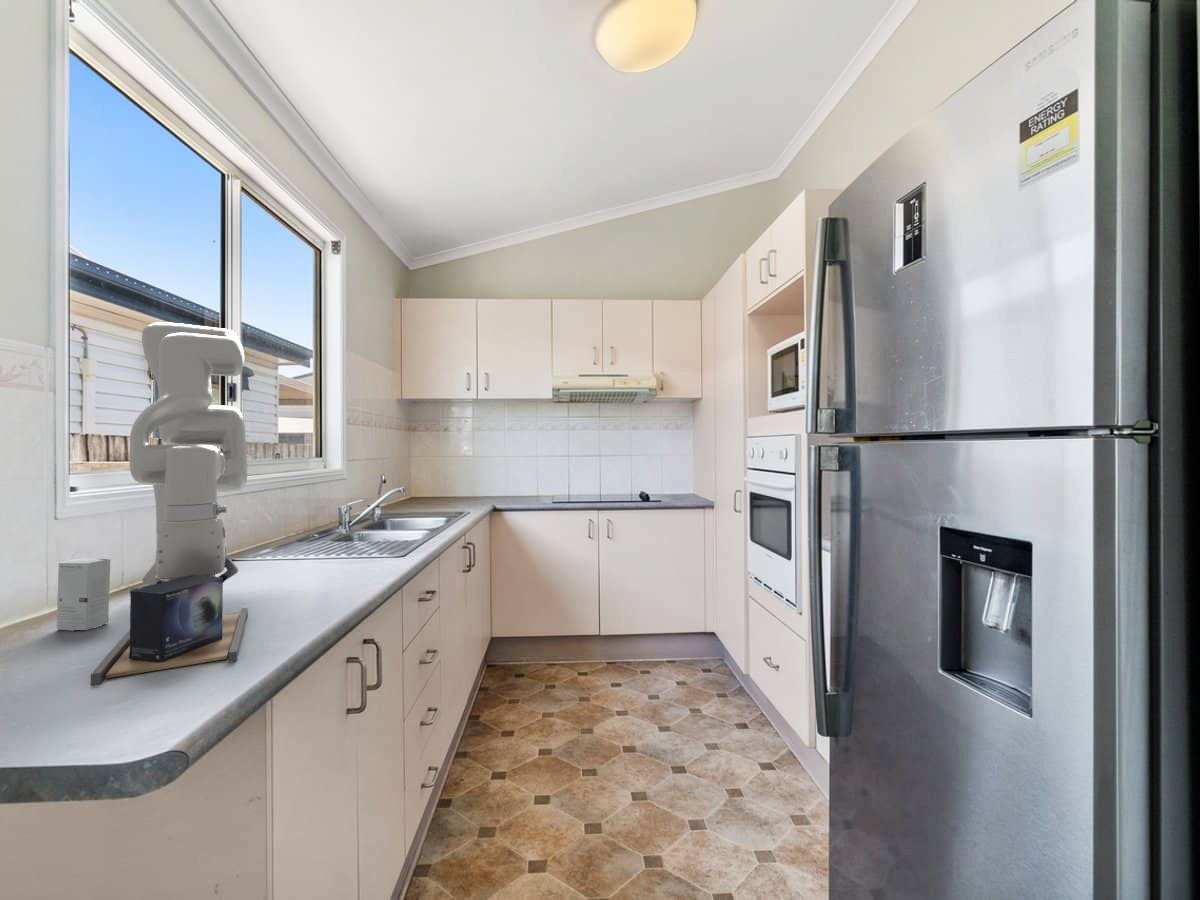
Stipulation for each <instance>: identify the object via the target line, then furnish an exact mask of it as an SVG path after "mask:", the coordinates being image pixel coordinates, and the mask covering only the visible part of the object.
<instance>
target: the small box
mask: <svg viewBox="0 0 1200 900" xmlns="http://www.w3.org/2000/svg"><path fill="white" fill-rule="evenodd" d="M223 583H224V582H223V577H219V576H216V577H211V576H201V575H190V576H186V577H182V578H178V579H174V580H170V581H166V582H161V583H157V584H153V585H149V584H148V585H146V586H145V585H144V586H142V587H137V588H136V587H135V588H132V589H130V590H129V596H130V602H129V603H130V604H129V605H130V608H129V609H130V610H129V611H130V616H129V623H130V624H129V627H130V628H129V630H130V652H129V659H137V660H146V661H155V662H163V661H165V660H168V659H171V658H173V657H176V656H178V655H181V654H184V653H186V652H189V651H191V650H194V649H197V648H199V647H202V646H205V645H207V644H210V643H212V642H215V641H218V640H220V639H222V616H223V601H224V600H223V599H224V598H223V594H224V593H223V588H224V587H223V586H224V584H223Z"/></svg>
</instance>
